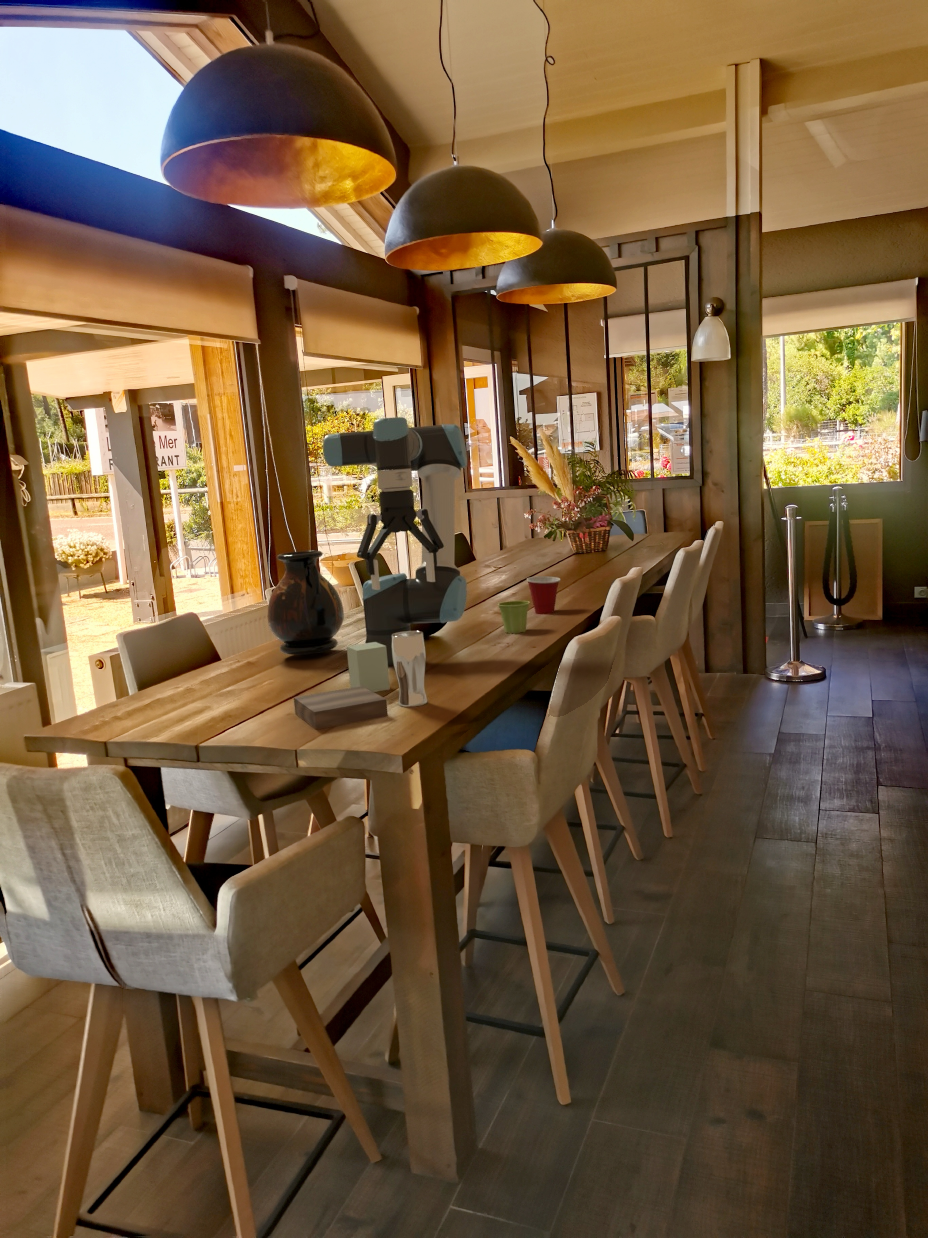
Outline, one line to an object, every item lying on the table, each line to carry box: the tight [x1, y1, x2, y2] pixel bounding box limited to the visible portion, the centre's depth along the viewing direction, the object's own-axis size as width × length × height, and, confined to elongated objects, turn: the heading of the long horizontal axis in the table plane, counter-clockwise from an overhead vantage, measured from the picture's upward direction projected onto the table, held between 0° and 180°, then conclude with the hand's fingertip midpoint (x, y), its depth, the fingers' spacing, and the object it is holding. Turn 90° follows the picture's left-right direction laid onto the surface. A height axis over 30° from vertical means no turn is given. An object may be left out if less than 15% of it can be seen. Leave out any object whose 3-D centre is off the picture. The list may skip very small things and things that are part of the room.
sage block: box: [346, 642, 391, 693], centre depth 212 cm, size 7×7×10 cm
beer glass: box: [392, 630, 428, 708], centre depth 196 cm, size 7×7×15 cm
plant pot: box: [497, 600, 531, 634], centre depth 271 cm, size 9×9×9 cm
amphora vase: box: [267, 550, 345, 656], centre depth 265 cm, size 22×22×28 cm
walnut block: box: [293, 686, 389, 731], centre depth 191 cm, size 15×15×4 cm
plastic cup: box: [526, 575, 561, 615], centre depth 298 cm, size 11×11×12 cm
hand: (404, 585), depth 208 cm, fingers open, 13 cm apart
